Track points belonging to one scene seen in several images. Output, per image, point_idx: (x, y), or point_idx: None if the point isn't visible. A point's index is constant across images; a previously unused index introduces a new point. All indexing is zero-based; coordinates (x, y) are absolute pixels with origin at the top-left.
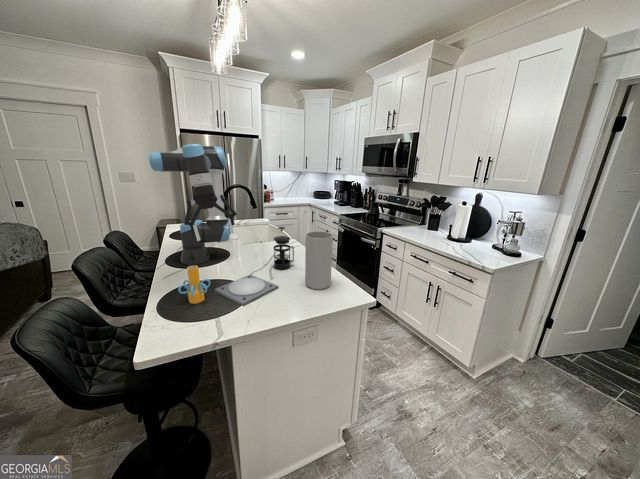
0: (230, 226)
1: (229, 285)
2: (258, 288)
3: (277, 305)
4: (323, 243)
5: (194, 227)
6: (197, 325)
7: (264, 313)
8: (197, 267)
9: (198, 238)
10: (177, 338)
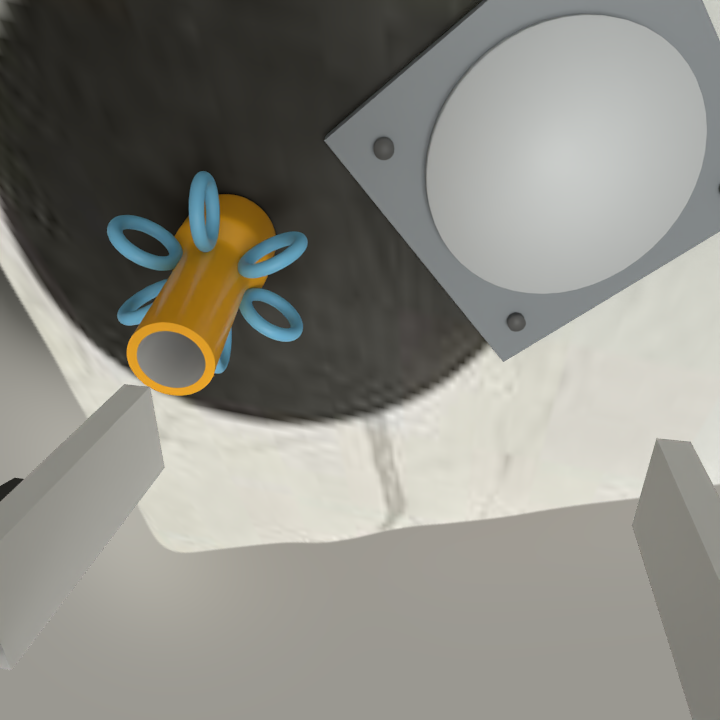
0: (676, 631)
1: (434, 142)
2: (630, 239)
3: (671, 380)
4: None
5: (23, 632)
6: (297, 447)
7: (586, 427)
8: (214, 370)
9: (144, 488)
10: (244, 497)
